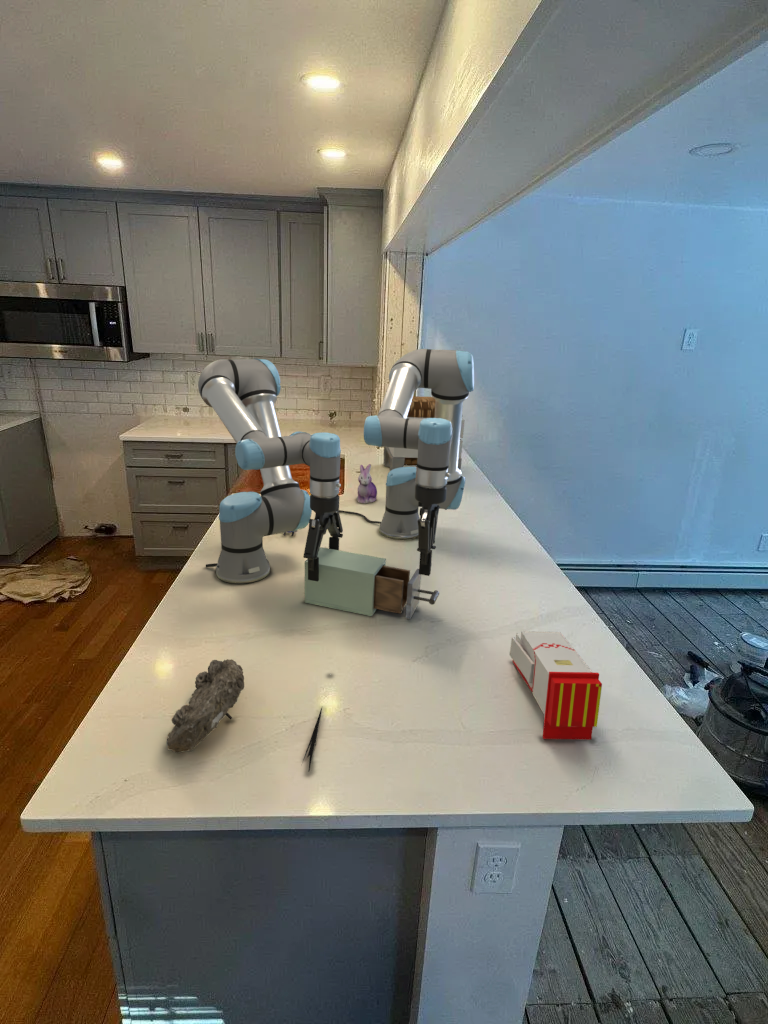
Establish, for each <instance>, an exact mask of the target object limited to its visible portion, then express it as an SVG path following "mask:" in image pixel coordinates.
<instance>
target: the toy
mask: <svg viewBox="0 0 768 1024" xmlns="http://www.w3.org/2000/svg"><path fill="white" fill-rule="evenodd" d="M515 634H516V635H515V637H514V636H512V637H511V639H510V640H511V641H510V649H509V656H510V658H511V661H512V663H513V665H514V666H515V668H516V670H517V671H518V673H519V675H520V676H521V678H522V679H523V681H524V682H525V684H526V686H527V687H528V689H529V690H530V693H532V695H533V697H534V699H535V701H536V703H537V705H538V707H539V708H540V710H541V712H542V714H543V715H544V718H543V727H542V739H543V740H584V741H585V740H588V741H589V740H592V738H593V729H594V728H597V727H598V720H599V713H600V706H601V696H602V689H603V683H602V682H601V680H600V673H599V672H593V671H592V669H591V668H590V667H589V666H588V665H587V663H586V662H585V661H584V659H583V658H582V657H581V656H580V655H579V653H578V652H577V651H576V650H575V648H574V647H573V645H572V644H571V643H570V642H569V641H568V640H567V639H566V637H565V636H564V635H563V634H562V632H561V631H526V630H525V631H524V630H523V631H522V630H521V631H520V632H516V633H515Z"/></svg>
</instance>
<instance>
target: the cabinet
mask: <svg viewBox="0 0 768 1024" xmlns="http://www.w3.org/2000/svg"><path fill="white" fill-rule="evenodd" d="M317 557H319V581H318V582H317V581H312V580H308V559H307V558H306V560H305V561H304V603H305V604H310V605H315V606H320V607H324V608H330V609H333V610H334V609H335V610H340V611H344V612H349V613H354V614H359V615H364V616H368V617H372V616H374V614H375V612H377V609H374V608H373V606H374V582H375V575H376V574H377V573H378V571H379V570H380V569H381V568H382V566H387V558H386V557H379V556H375V555H367V554H364V553H363V554H362V553H356V552H352V551H346V550H340V549H339V550H334V549H329V547H322V546H320V549H319V552H318V556H317Z"/></svg>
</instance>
